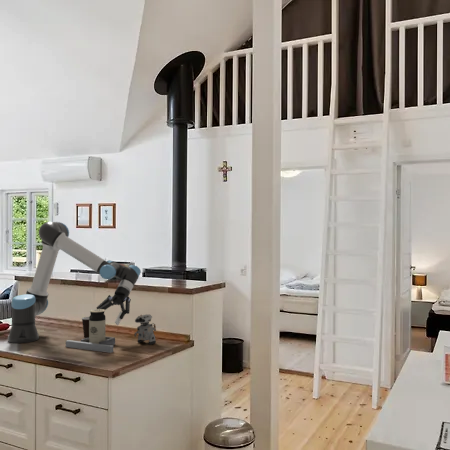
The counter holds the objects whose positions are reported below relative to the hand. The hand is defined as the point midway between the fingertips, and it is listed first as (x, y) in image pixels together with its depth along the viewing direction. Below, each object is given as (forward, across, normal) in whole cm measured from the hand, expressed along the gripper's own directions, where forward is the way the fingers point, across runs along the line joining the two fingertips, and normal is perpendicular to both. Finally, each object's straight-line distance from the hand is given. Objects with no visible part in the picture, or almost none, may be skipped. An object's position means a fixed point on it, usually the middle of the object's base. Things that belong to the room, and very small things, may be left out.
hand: (105, 322), depth 258 cm
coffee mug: (0, +19, -16) cm, 24 cm away
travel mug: (+12, 0, -3) cm, 12 cm away
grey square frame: (+12, 0, -3) cm, 12 cm away
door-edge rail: (+17, -1, +2) cm, 17 cm away
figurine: (+2, -18, -13) cm, 23 cm away
